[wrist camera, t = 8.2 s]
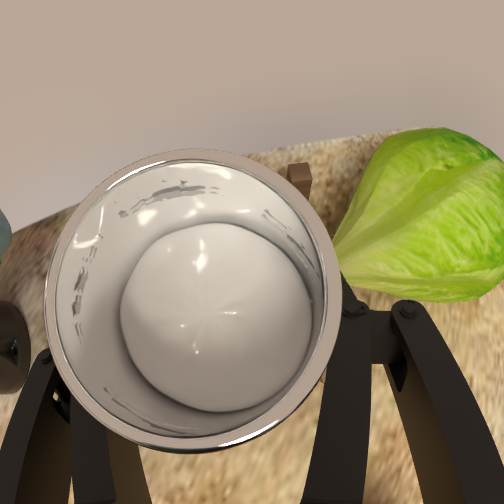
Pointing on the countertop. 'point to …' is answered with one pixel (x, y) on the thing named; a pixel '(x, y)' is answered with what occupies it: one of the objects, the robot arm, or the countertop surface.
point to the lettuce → (426, 219)
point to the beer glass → (192, 301)
